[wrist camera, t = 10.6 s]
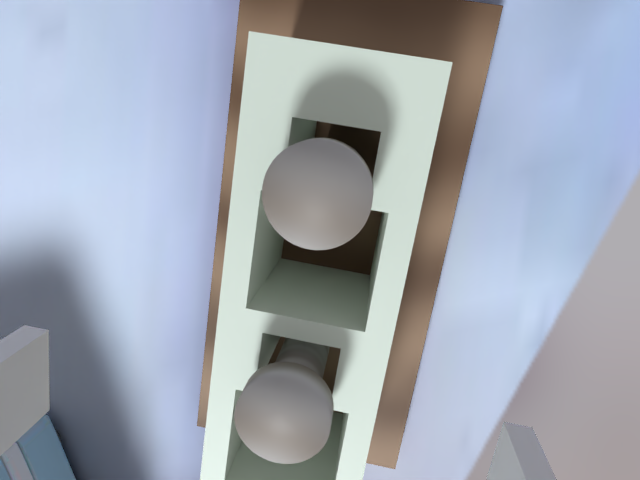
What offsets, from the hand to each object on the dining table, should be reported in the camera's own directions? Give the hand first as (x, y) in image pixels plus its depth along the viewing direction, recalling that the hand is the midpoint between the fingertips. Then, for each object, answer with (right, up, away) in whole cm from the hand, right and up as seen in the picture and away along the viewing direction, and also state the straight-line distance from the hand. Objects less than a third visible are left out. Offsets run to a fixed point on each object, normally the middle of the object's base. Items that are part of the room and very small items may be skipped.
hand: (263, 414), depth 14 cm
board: (+2, +5, +13) cm, 14 cm away
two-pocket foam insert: (+2, +3, +12) cm, 13 cm away
